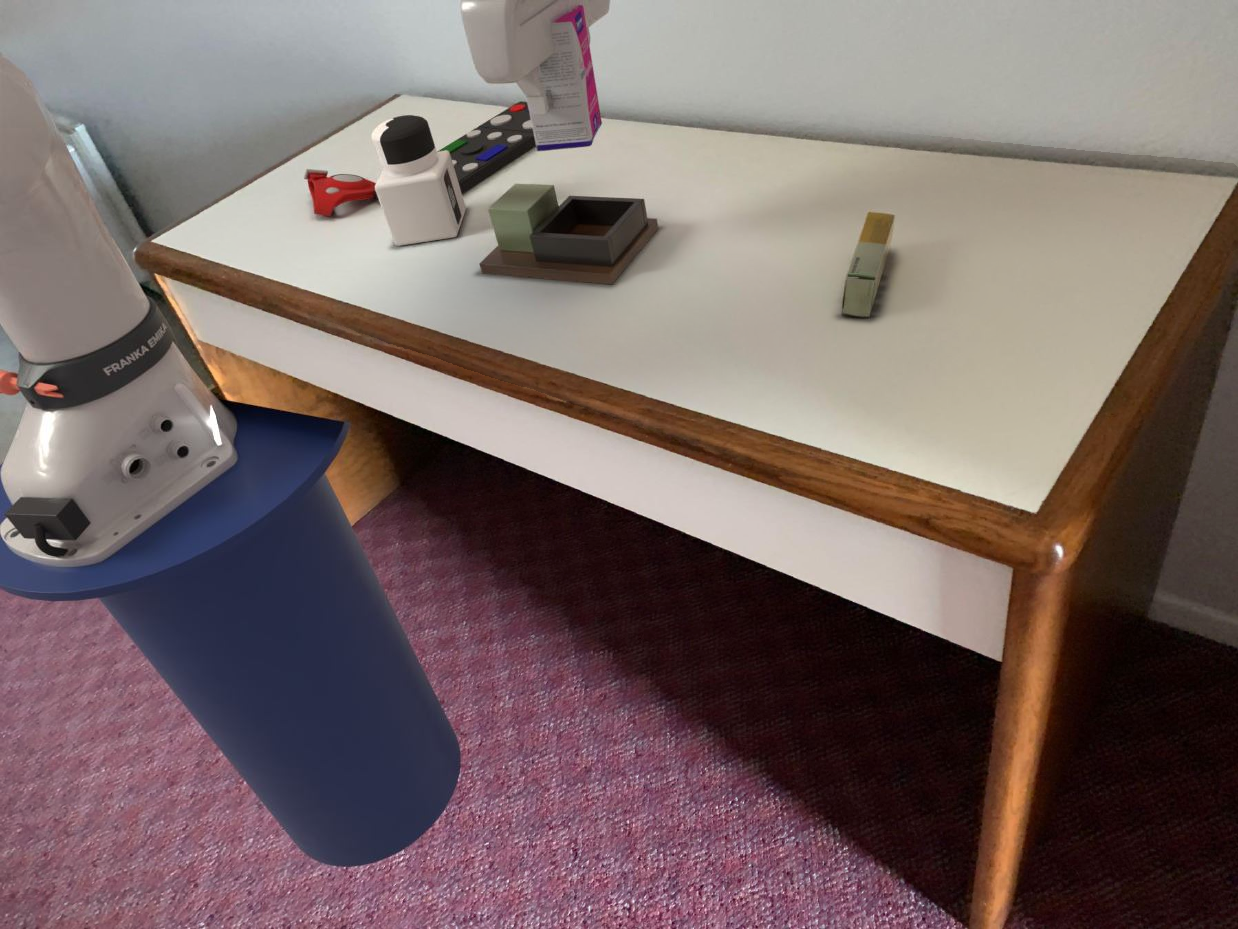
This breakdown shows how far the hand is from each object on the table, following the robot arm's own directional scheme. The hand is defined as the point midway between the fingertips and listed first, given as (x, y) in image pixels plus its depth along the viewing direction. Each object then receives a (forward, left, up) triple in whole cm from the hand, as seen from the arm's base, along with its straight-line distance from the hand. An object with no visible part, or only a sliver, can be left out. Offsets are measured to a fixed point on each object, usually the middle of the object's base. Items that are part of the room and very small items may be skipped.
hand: (561, 96), depth 90 cm
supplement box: (0, 0, -4) cm, 4 cm away
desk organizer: (0, +3, -17) cm, 17 cm away
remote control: (+23, +29, -17) cm, 41 cm away
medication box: (-2, -30, -17) cm, 35 cm away
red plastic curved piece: (+9, +43, -17) cm, 47 cm away
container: (+3, +24, -17) cm, 30 cm away
